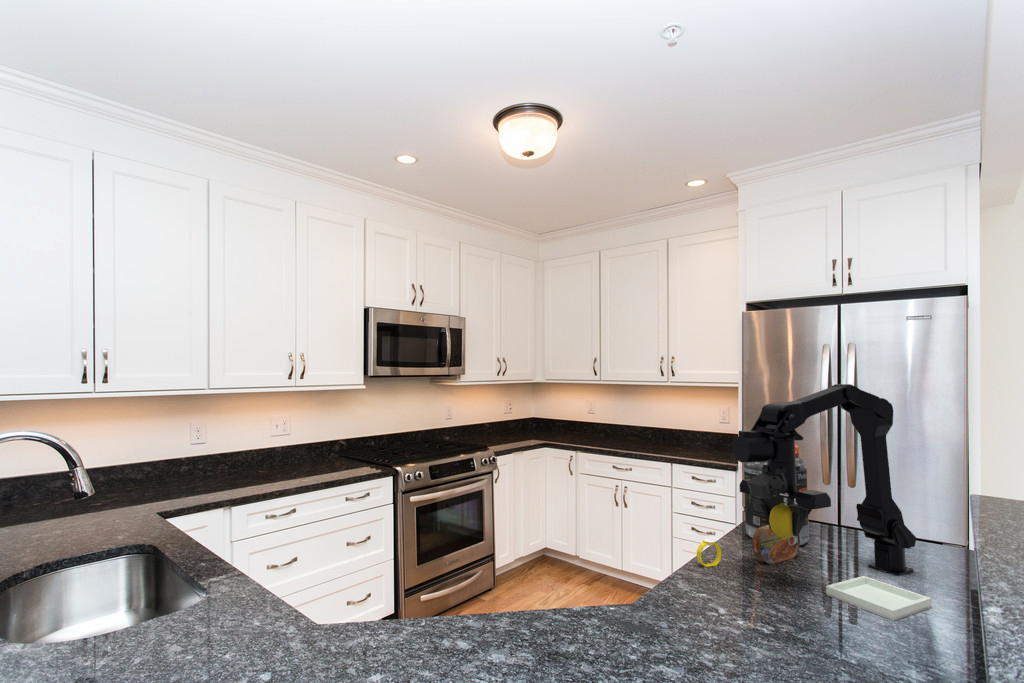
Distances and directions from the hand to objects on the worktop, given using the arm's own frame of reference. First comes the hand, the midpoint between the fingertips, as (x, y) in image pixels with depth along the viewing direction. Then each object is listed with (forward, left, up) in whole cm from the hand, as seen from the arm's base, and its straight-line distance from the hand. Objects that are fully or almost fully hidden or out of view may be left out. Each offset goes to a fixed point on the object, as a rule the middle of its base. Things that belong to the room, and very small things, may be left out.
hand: (783, 532), depth 114 cm
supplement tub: (-24, -21, -11) cm, 34 cm away
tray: (-7, +15, -10) cm, 20 cm away
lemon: (0, 0, -2) cm, 2 cm away
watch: (+8, -14, -11) cm, 19 cm away
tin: (-10, -10, -11) cm, 18 cm away
